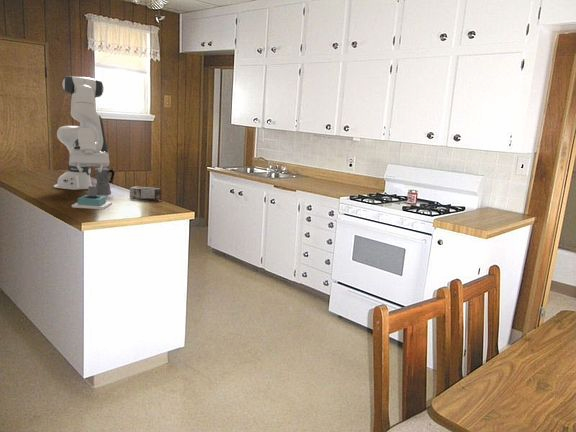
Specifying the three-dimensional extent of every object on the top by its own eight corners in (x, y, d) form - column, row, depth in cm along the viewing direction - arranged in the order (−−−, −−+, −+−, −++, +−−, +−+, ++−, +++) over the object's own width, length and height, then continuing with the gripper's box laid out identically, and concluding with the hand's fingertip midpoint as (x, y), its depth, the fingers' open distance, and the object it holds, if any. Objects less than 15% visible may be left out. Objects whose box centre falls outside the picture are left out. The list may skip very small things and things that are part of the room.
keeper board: (71, 207, 240) (71, 198, 239) (82, 202, 254) (82, 193, 253) (103, 209, 241) (103, 200, 240) (111, 204, 255) (111, 195, 254)
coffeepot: (88, 192, 281) (88, 163, 278) (100, 191, 290) (99, 162, 286) (108, 196, 276) (108, 166, 272) (119, 194, 285) (119, 165, 281)
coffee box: (129, 198, 275) (154, 201, 272) (129, 187, 273) (154, 190, 271) (137, 196, 283) (161, 198, 281) (137, 185, 282) (161, 188, 279)
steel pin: (86, 203, 246) (86, 187, 244) (91, 202, 249) (90, 186, 248) (93, 204, 245) (93, 187, 243) (97, 203, 249) (97, 186, 247)
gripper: (107, 155, 262) (110, 175, 256) (67, 154, 251) (69, 174, 245) (108, 148, 257) (111, 168, 251) (68, 146, 247) (70, 167, 241)
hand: (90, 171), depth 248 cm, fingers open, 8 cm apart
